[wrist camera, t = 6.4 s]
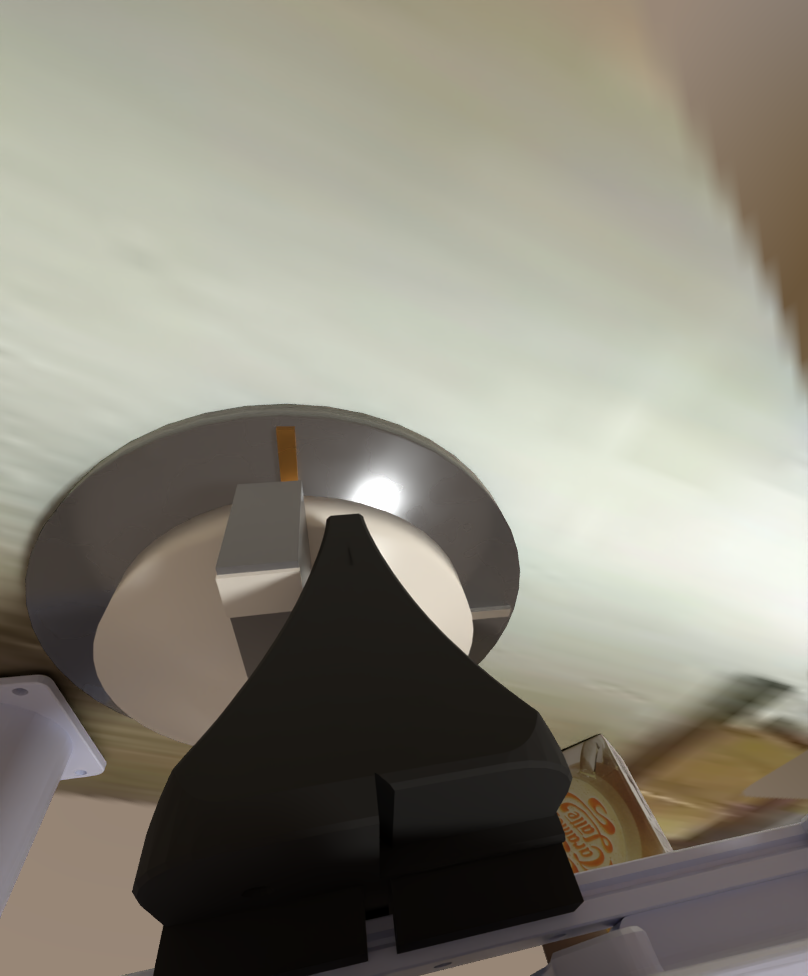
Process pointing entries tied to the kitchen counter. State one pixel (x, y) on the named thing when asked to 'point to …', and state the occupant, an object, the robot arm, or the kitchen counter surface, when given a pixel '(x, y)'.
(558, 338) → the kitchen counter surface
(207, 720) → the dial
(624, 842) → the coffee box
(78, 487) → the dial plate
